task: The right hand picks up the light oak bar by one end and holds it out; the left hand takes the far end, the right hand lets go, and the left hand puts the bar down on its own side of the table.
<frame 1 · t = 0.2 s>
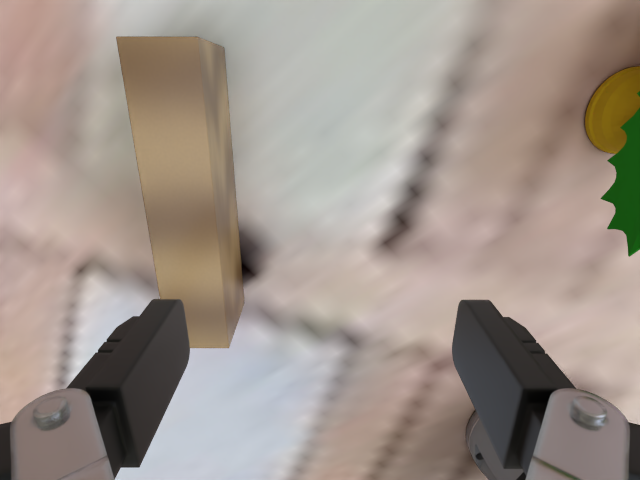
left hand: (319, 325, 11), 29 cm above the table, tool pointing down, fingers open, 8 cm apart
bar: (207, 190, 40), on the table
ornament: (628, 114, 37), on the table
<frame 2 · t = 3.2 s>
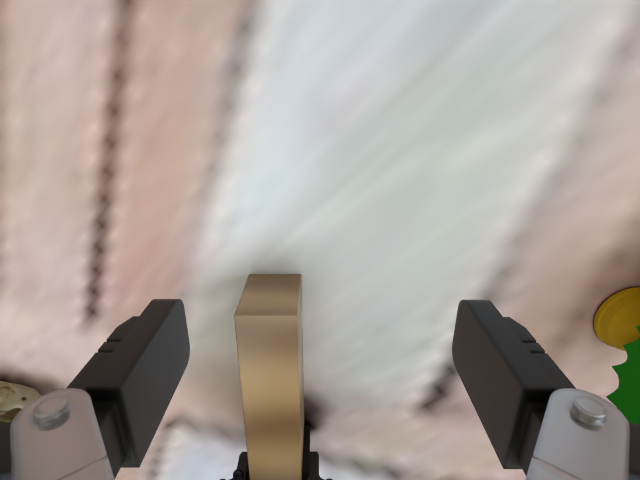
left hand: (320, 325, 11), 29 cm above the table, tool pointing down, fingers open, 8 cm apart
bar: (279, 370, 48), on the table, touching right hand
ornament: (629, 318, 45), on the table
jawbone: (20, 393, 49), on the table
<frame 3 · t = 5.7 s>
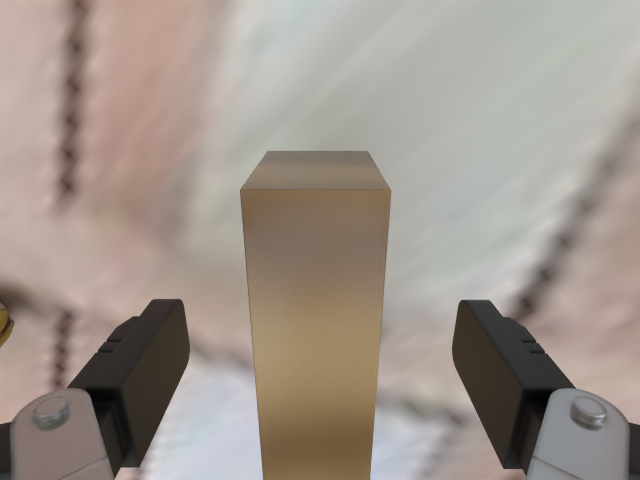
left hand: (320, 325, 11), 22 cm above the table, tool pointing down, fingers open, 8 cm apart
bar: (317, 340, 27), point 10 cm above the table, touching right hand
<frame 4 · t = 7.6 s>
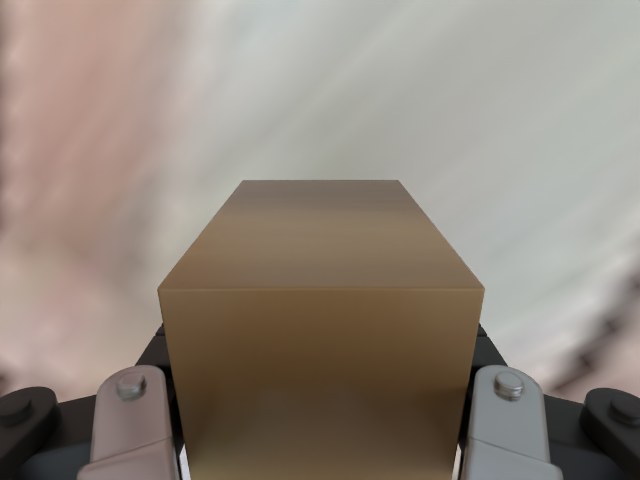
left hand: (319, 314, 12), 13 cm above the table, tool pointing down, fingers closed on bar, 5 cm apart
bar: (320, 443, 19), point 10 cm above the table, touching left hand, right hand
when the right hand's fingers open (10 cm above the table, at t = 8.4 s): bar stays where it is, held by the left hand.
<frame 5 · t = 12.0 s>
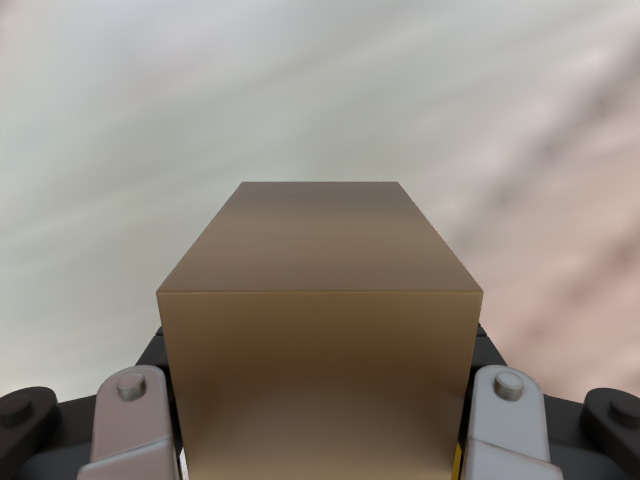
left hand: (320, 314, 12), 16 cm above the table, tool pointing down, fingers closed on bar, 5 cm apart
bar: (320, 444, 19), point 12 cm above the table, touching left hand
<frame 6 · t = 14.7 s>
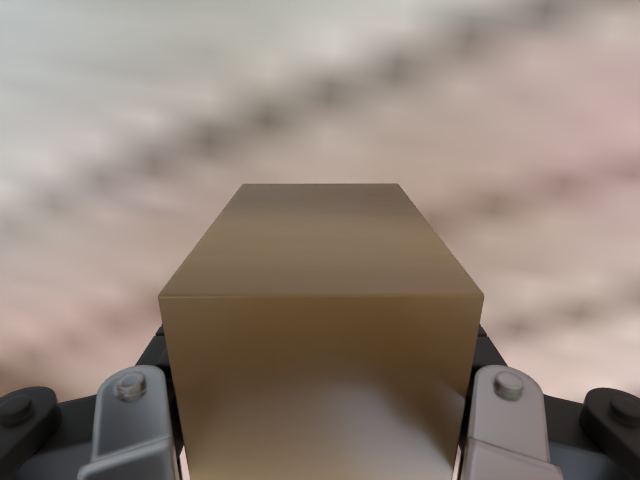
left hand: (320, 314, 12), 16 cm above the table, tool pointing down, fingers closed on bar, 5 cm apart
bar: (320, 445, 19), point 13 cm above the table, touching left hand
when the left hand's fingers open (5 cm above the table, at t = 16.8 s): bar drops 1 cm, on the table.
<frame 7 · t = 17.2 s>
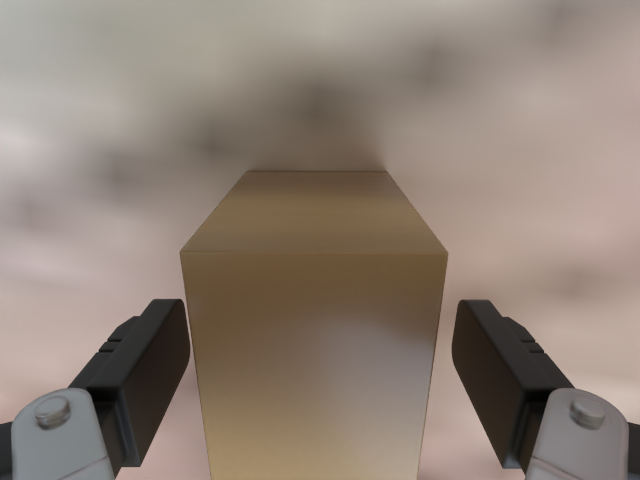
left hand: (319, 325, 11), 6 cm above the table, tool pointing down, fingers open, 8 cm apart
bar: (316, 417, 21), on the table
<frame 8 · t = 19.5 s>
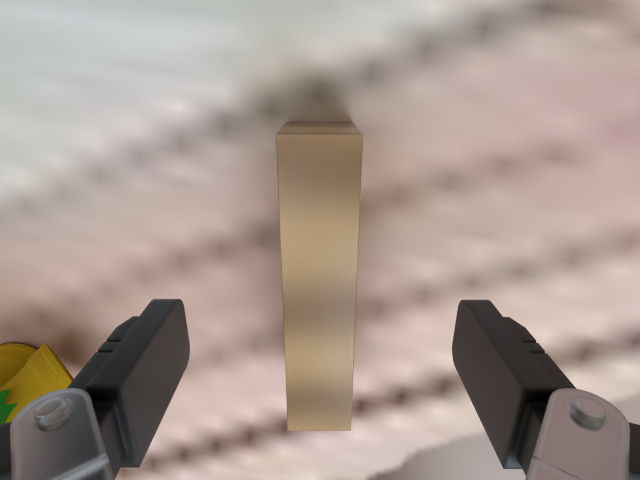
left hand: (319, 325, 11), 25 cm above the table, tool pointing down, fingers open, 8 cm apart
bar: (319, 261, 38), on the table
ornament: (25, 374, 43), on the table
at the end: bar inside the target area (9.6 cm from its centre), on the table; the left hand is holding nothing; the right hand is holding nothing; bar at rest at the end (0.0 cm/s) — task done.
